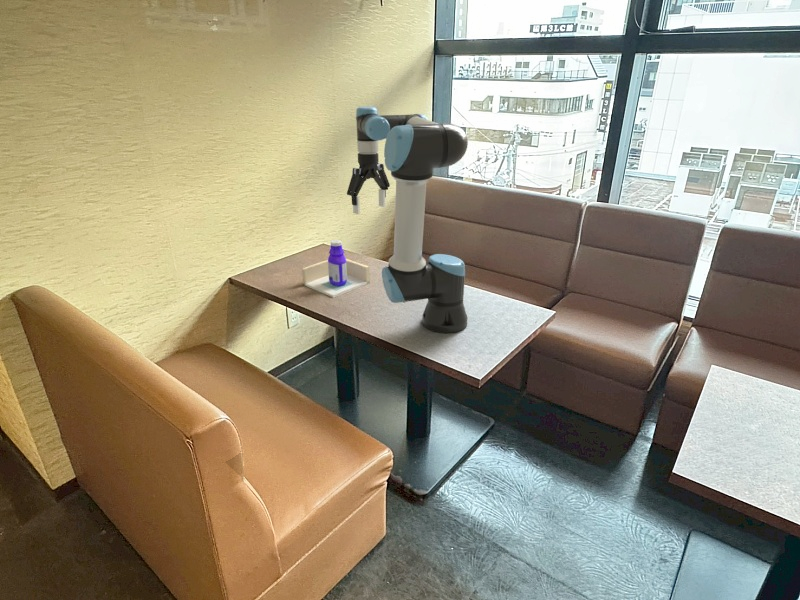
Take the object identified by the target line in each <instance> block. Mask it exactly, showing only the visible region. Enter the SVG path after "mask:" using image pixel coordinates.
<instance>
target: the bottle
mask: <svg viewBox="0 0 800 600" xmlns="http://www.w3.org/2000/svg"><path fill="white" fill-rule="evenodd" d="M328 254H329V256H328V257H327V260H328V269H329V281H330V283H331V284H333V285H336V286H342V285H344V284H346V282H347V271H346V259H347V257H346V256H345V255H344V254H345V251H344V250H343V246H342V240H339V239H332V240H331V241H330V249H329V251H328Z"/></svg>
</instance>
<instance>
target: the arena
mask: <svg viewBox="0 0 800 600" xmlns="http://www.w3.org/2000/svg"><path fill="white" fill-rule="evenodd" d="M346 271H347V282H346V284H344V285H342V286H336V285H333V284H331V283H330V281H329V269H328V259H326V260H323V261H319V262H317V263H314V264H310V265H308V266H306V267H303V268H301V272H302V274H301V275H302V283H303V286H305V287H307V288H310V289H312V290H314V291H316V292H319V293H322V294H323V295H326V296H328V297H330V298H332V299H333V298H336V297H339V296H341V295H343V294H346V293H348V292H350V291H353V290H356V289H358V288H361V287H363V286H365V285H368V284H370V266H368V265H366V264H364V263H363V264H362V263H360V262H357V261H354V260H351V259H349V258H346Z"/></svg>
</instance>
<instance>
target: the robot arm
mask: <svg viewBox="0 0 800 600" xmlns="http://www.w3.org/2000/svg"><path fill="white" fill-rule="evenodd" d="M355 113H356V116H355V120H356V138H357V139H356V140H357V141H356V143H357V145H356V146H357V152H358V153H357V163H358V165H359V167H358V168H356V167H353V168H352V175H351V177H350V182H349V185H348V188H347V191H346V195H347V196H351V205H352V213H353V214H356V215H360V214H361V211H360V210H361V209H360V196H358V195H359V193H360V191H361V189H362V187H363V185H364V183H365V182H366V181H367V180H369V179H373V180H374V182H375V183H376V185H378V187H379V189H378V207H382V208H385V207H386V197H387V190H389V188H390V187H391V185H390V182H389V179H388V177H387V174H386V172H385V167H386V170H387V171H390V175H391V178H393V179H394V180H395V204H394V205H395V209H394V237H393V238H394V239H393V255H392V256H390V257H389V259H388V266H385V267H383V268H382V270H381V279H382V284H383V288H384V291H385V293H386V296H387V299H388V300H389V301H390V302H391V303H394V304H399V303H404V304H406V303H407V302H413V301H414V302H415V301H420V300H422V301H423V300H427V302H426V305H425V308H424V310H423V313H422V316H421V317H422V318H421V321H422V322H421V323H422V325H423V327H425V328H426V329H427V330H429V331H431V332H435V333H443V334H453V333H457V332H461V331H462V330H464V329H466V327H467V326H468V315H467V311H466V307H465V304H464V293H465V278H466V265H465V264H466V263H465V262H464V261H463V260H462V259H461V258H459V257H457V256H453V255H450V254H443V253H437V254H431V255H430V256H429V257H428V261H426V259H425V258H424V257H423V240H424V228H425V227H424V226H425V224H424V223H425V212H426V211H425V209H426V198H427V197H426V196H427V195H426V194H427V183H428V182H429V181H430V180H431V179H432V178H433V175H434V174H433V173H434V169H441V168H447V167H450V166H453V165H455V164H457V163H458V162H459V161H460V160H462V158H463V157H464V156H465V154H466V152H467V149H468V143H469V141H468V136H467V134H466V132H465V131H464V129H463V128H462V127H460V126H458V125H456V124H454V123H453V124H452V123H449V122H448V123H447V122H446V123H437V122H436V121H431V120H429V119H428V117H427V115H425V114H422V113H420V114H419V113H413V114H385V115H379V113H378V109H377V107H375V106H360V107H357V108H356V112H355ZM383 140H385V144H384V148H383V149H384V151H383V154H384V155H383V156H384V164H383V163H380V162H379V153H378V152H379V141H383Z"/></svg>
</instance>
